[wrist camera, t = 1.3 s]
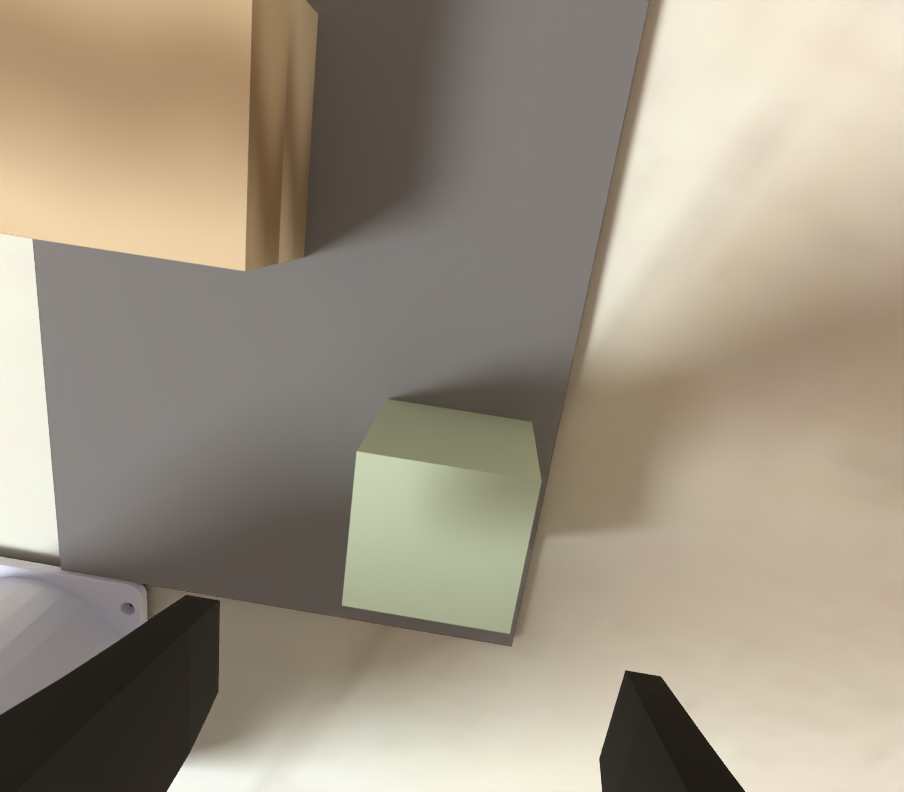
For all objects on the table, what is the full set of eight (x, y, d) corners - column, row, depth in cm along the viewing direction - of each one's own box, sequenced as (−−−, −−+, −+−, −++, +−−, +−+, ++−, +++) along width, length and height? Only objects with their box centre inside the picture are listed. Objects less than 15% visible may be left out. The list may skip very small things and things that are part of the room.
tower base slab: (304, 257, 16) (278, 263, 14) (98, 226, 16) (46, 227, 15) (318, 14, 14) (290, -17, 12) (85, -19, 15) (24, -53, 13)
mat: (511, 638, 20) (511, 646, 20) (69, 563, 21) (61, 569, 20) (652, -31, 14) (657, -37, 14) (14, -117, 14) (1, -125, 14)
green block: (507, 547, 19) (509, 634, 15) (373, 525, 19) (341, 605, 15) (532, 422, 17) (541, 481, 13) (387, 398, 17) (356, 451, 14)
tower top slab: (278, 263, 14) (244, 270, 12) (46, 227, 15) (-22, 230, 13) (290, -17, 12) (253, -57, 11) (24, -53, 13) (-60, -100, 11)
